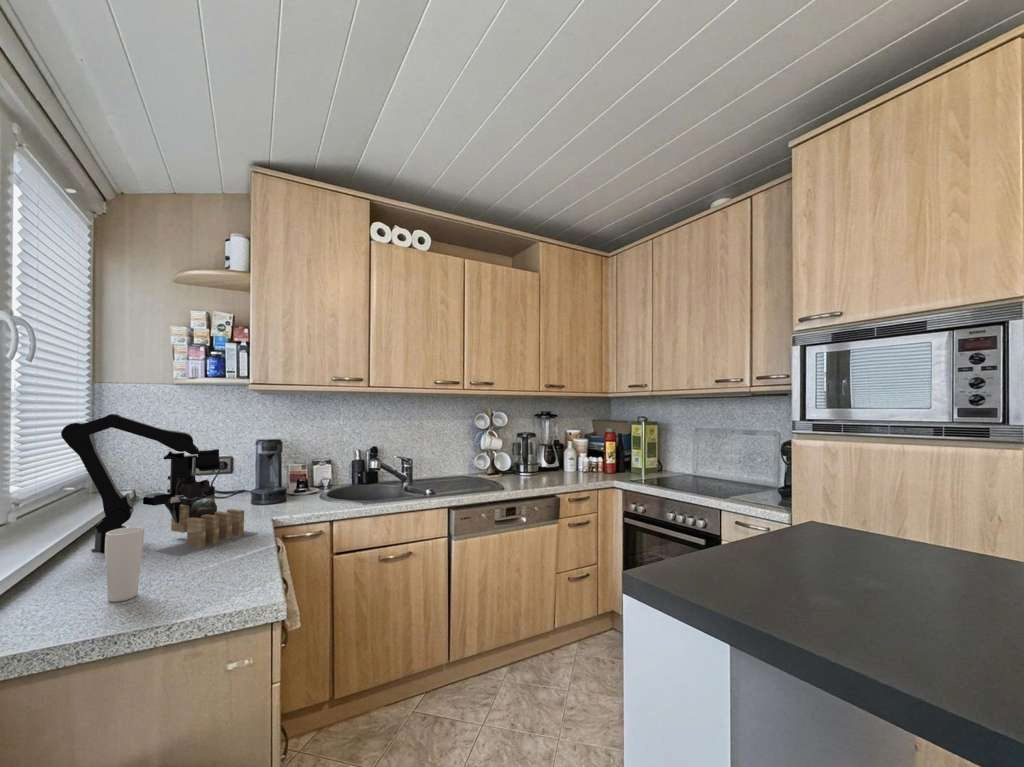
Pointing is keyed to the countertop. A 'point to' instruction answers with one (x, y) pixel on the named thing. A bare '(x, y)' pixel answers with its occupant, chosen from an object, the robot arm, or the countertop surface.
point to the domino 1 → (181, 520)
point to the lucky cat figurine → (203, 506)
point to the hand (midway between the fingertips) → (180, 522)
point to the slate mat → (186, 549)
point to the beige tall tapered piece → (123, 562)
